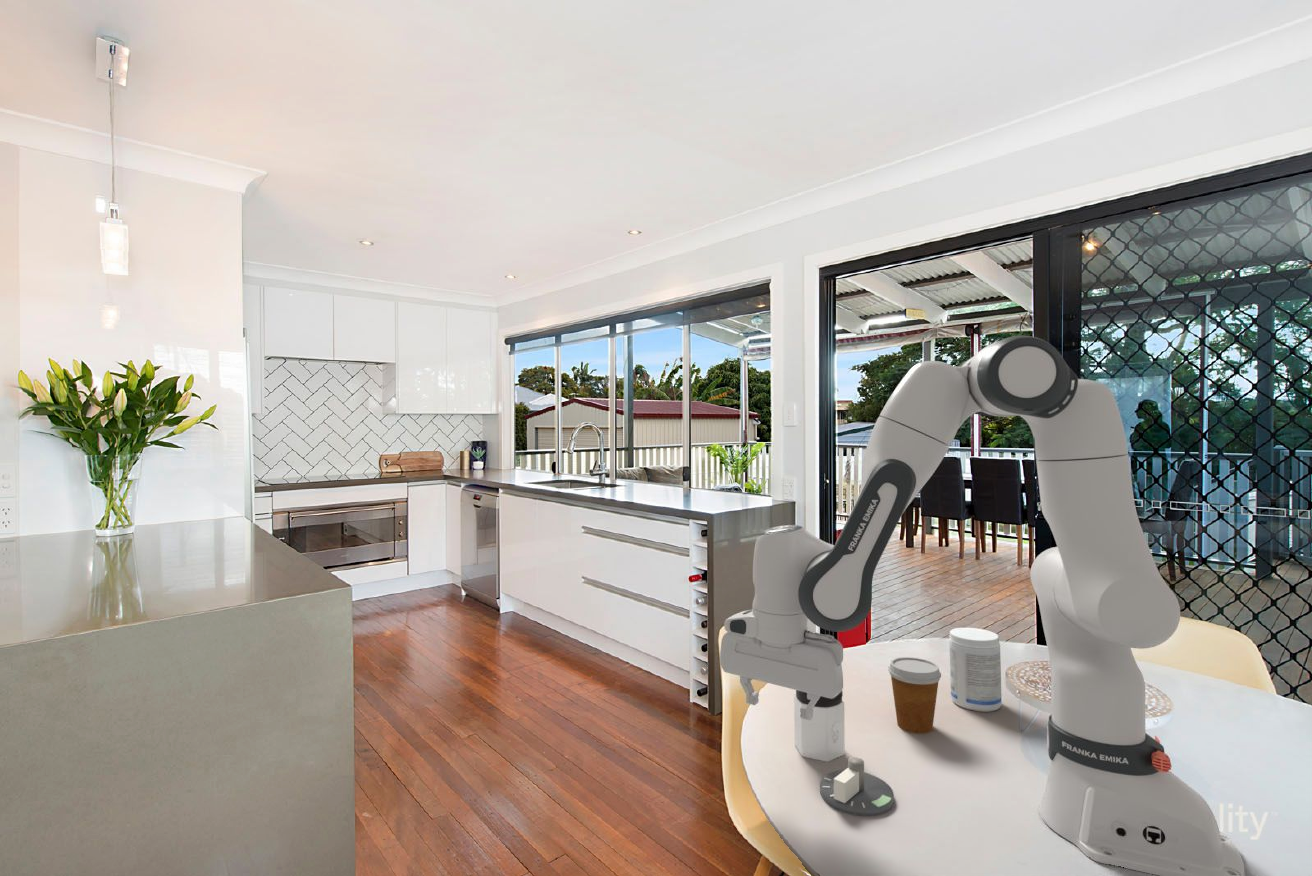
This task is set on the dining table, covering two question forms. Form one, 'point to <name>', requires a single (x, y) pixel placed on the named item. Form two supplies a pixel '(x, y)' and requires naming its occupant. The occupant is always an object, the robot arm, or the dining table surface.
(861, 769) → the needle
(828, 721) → the jar
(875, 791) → the dial
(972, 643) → the supplement tub
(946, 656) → the dining table surface
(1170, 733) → the dining table surface
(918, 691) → the disposable coffee cup
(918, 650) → the dining table surface
